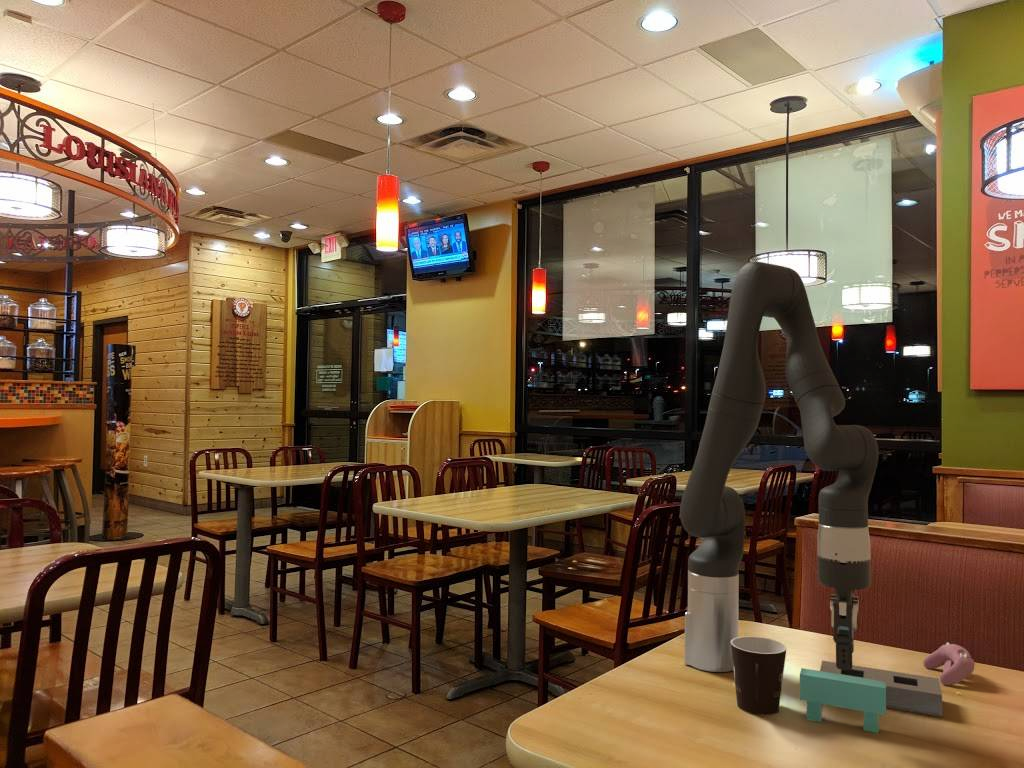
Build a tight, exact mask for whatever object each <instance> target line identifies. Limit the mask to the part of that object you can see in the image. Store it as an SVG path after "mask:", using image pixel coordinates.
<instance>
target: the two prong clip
mask: <svg viewBox="0 0 1024 768" xmlns="http://www.w3.org/2000/svg"><path fill="white" fill-rule="evenodd" d="M799 701H802V702H806V721H812V722H818V723H821V722H822V710H823V708H822V705H825V706H832V707H837V708H842V709H848V710H853V711H854V710H855V711H860V712H863V731H866V732H871V733H877V734H879V715H882V716H886V715H887V708H886V681H880V680H873V679H867V678H861V677H854V676H848V675H842V674H836V673H829V672H823V671H820V670H815V669H809V668H804V667H801V669H800V672H799Z"/></svg>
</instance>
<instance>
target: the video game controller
mask: <svg viewBox="0 0 1024 768" xmlns="http://www.w3.org/2000/svg"><path fill="white" fill-rule="evenodd" d="M923 666H924V668H926V669H927V670H934V669H938V668H940V667H943V669H942V671H943V672H942V673H941V674H940V676H939V683H941V685H943V686H953V685H956V684H958V683H960V682H962V681H963V680H964V679H966V678H967V677H969V676H970V675H971V674H973V672H974V671H975V660H974V659H973V658H972V656H971V654H970V652H969V651H968V650H967V649H966V648H964V647H963V646H960V645H958V644H954V643H951V644H950V643H949V641H948V642H946V644H942V645H941V646H940V647H939V648H937V649H936V650H935V651H933V652H932V653H930V654H928V655H927V656H925V658H924V660H923Z"/></svg>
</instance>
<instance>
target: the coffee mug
mask: <svg viewBox="0 0 1024 768" xmlns="http://www.w3.org/2000/svg"><path fill="white" fill-rule="evenodd" d="M731 651H732V660H733V669H734V670H733V678H734V687H735V696H736V697H735V698H736V705H737V707H738V708H739V709H740V710H742V711H744V712H745V713H748V714H751V715H757V716H773V715H775V714H777V713H779V710H780V702H781V696H782V687H783V679H784V671H785V665H786V663H785V662H786V656H787V645H785V644H784V643H782V642H781V641H777V640H776V639H773V638H772V639H771V638H767V637H760V636H752V635H751V636H747V635H746V636H745V635H744V636H738V637H737V638H734V639H732V640H731Z"/></svg>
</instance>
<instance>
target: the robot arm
mask: <svg viewBox="0 0 1024 768" xmlns="http://www.w3.org/2000/svg"><path fill="white" fill-rule="evenodd" d="M764 317H765V318H773V319H774V320H775V321H776V323H778V326H779V327H780V328H781V330H782V333H783V334H784V337H785V341H786V356H785V361H784V362H785V364H784V373H785V378H786V382H787V384H788V387H789V389H790V392H791V395H792V397H793V398H794V401H795V403H796V406H797V408H798V410H799V412H800V413H799V414H800V421H801V429H802V436H803V437H802V439H803V444H804V450H805V453H806V455H807V457H808V459H809V461H811V463H812V464H813V465H814V466H815V467H817V468H818V469H820V470H822V471H827V472H834V471H835V472H836V471H838V474H837V477H836V480H835V482H834V483H832V484H829V485H827V486H825V487H823V488H822V489H820V491H819V493H818V529H817V537H816V538H817V539H816V541H817V543H816V544H817V547H816V548H817V554H816V555H817V580H818V581H817V582H818V583H819V584H820V585H822V586H823V587H824V586H825V587H826V588H833V589H834V591H835V594H832V593H831V594H830V598H829V608H830V611H831V616H830V617H831V619H830V620H831V627H832V628H833V636H832V640H833V641H834V644H835V663H836V667H837V668H838V669H842V670H852V665H853V654H854V650H855V648H854V647H855V646H854V643H855V639H854V635H855V634H854V632H855V631H857V620H858V613H859V607H860V606H859V605H860V604H859V600H860V599H859V597H858V596H855V591H857V590H858V591H862V590H866V589H868V588H870V587H871V585H872V570H871V569H872V566H871V563H872V562H871V559H872V558H871V538H870V531H869V509H868V508H869V504H868V503H869V497H870V496H869V495H870V493H871V490H872V486H873V482H874V478H875V474H876V471H877V467H878V462H879V453H880V451H879V446H878V442H877V441H878V440H877V439H876V437H875V435H874V433H873V432H872V431H871V430H870V429H869V428H867V427H865V426H863V425H857V424H848V425H847V424H844V425H840V424H836V422H835V420H834V417H835V416H837V415H839V414H840V413H841V412H842V411H843V410H844V409H845V407H846V399H845V396H844V394H843V391H842V389H841V387H840V386H839V383H838V381H837V379H836V377H835V374H834V372H833V370H832V368H831V366H830V364H829V362H828V360H827V357H826V354H825V352H824V350H823V347H822V345H821V342H820V338H819V333H818V330H817V326H816V322H815V320H814V316H813V312H812V309H811V305H810V300H809V298H808V293H807V290H806V287H805V284H804V282H803V279H802V278H801V276H800V274H799V273H798V272H797V271H796V270H794V269H793V268H791V267H787V266H783V265H778V264H774V263H773V264H772V263H767V262H762V261H750V262H747V263H746V264H744V265H743V266H742V267H741V268H740V270H738V272H737V274H736V276H735V279H734V281H733V285H732V288H731V294H730V300H729V305H728V313H727V320H726V328H725V335H724V341H723V347H722V351H721V356H720V360H719V365H718V369H717V374H716V377H715V382H714V385H713V388H712V392H711V394H710V395H711V396H710V400H709V404H708V409H707V415H706V417H705V418H706V419H705V424H704V427H703V431H702V435H701V438H700V442H699V447H698V450H697V454H696V456H695V459H694V463H693V466H692V469H691V471H690V474H689V477H688V480H687V483H686V485H685V488H684V491H683V494H682V498H681V500H680V501H681V502H680V508H679V516H680V522H681V525H682V527H683V529H684V530H685V531H686V533H688V534H689V535H690V536H692V537H694V538H695V537H696V538H702V540H701V543H700V544H699V545H698V547H697V548H696V549H695V550H693V552H692V553H690V555H689V556H688V561H687V610H686V612H685V613H684V665H686V666H687V665H688V666H691V667H693V668H695V669H698V670H701V671H706V672H713V673H715V672H716V673H725V672H726V673H727V672H732V671H734V669H733V660H732V651H731V640H732V639H734V638H737V637H739V601H740V600H739V589H740V588H739V584H740V583H739V582H740V581H739V578H740V577H739V575H740V574H739V571H740V569H739V568H740V565H741V561H742V559H743V556H744V549H745V529H746V512H745V511H746V510H745V505H744V502H743V498H742V497H741V496H740V494H739V493H738V492H737V490H735V489H734V488H732V487H730V486H727V485H726V483H727V480H728V476H729V473H730V471H731V469H732V467H733V465H734V464H735V461H737V459H738V458H739V456H740V455H741V453H742V452H743V451H744V449H745V448H746V447H747V445H748V443H750V441H751V439H753V436H754V434H755V433H756V431H757V429H758V425H759V423H760V420H761V415H762V412H763V408H764V405H765V402H766V401H765V400H766V396H767V395H766V394H767V386H766V385H767V384H766V380H765V376H764V371H763V368H762V364H761V361H760V356H759V351H758V344H759V343H758V342H759V335H760V329H761V324H762V321H763V318H764Z"/></svg>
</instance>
